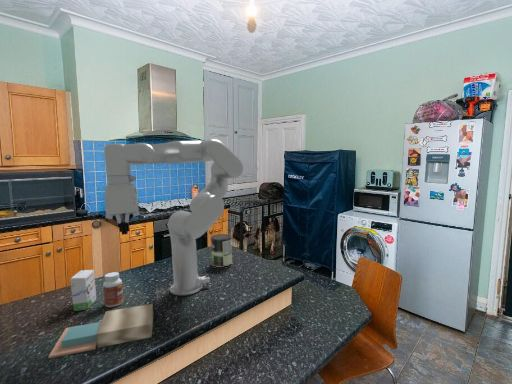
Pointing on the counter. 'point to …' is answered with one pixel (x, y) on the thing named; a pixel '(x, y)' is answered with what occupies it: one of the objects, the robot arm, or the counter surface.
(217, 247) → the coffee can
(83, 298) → the ink box
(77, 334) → the tile
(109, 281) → the pill bottle
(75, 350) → the mat
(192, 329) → the counter surface
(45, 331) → the counter surface
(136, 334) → the platform
